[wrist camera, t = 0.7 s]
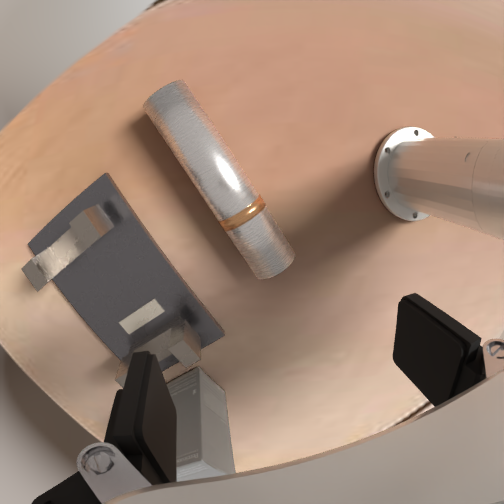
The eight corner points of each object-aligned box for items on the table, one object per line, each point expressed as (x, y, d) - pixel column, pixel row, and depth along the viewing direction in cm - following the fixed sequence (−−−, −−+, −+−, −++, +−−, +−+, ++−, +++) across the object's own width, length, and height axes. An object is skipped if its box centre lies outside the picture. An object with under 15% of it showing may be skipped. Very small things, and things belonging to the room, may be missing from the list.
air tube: (147, 112, 30) (137, 104, 25) (186, 86, 30) (183, 74, 25) (252, 269, 37) (260, 286, 32) (289, 246, 37) (301, 259, 32)
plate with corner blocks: (107, 172, 31) (83, 176, 24) (224, 331, 39) (229, 366, 32) (31, 241, 32) (0, 259, 25) (143, 377, 39) (135, 414, 32)
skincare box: (199, 364, 40) (201, 455, 25) (229, 394, 42) (242, 481, 27) (153, 389, 40) (141, 476, 25) (184, 416, 42) (184, 500, 27)
